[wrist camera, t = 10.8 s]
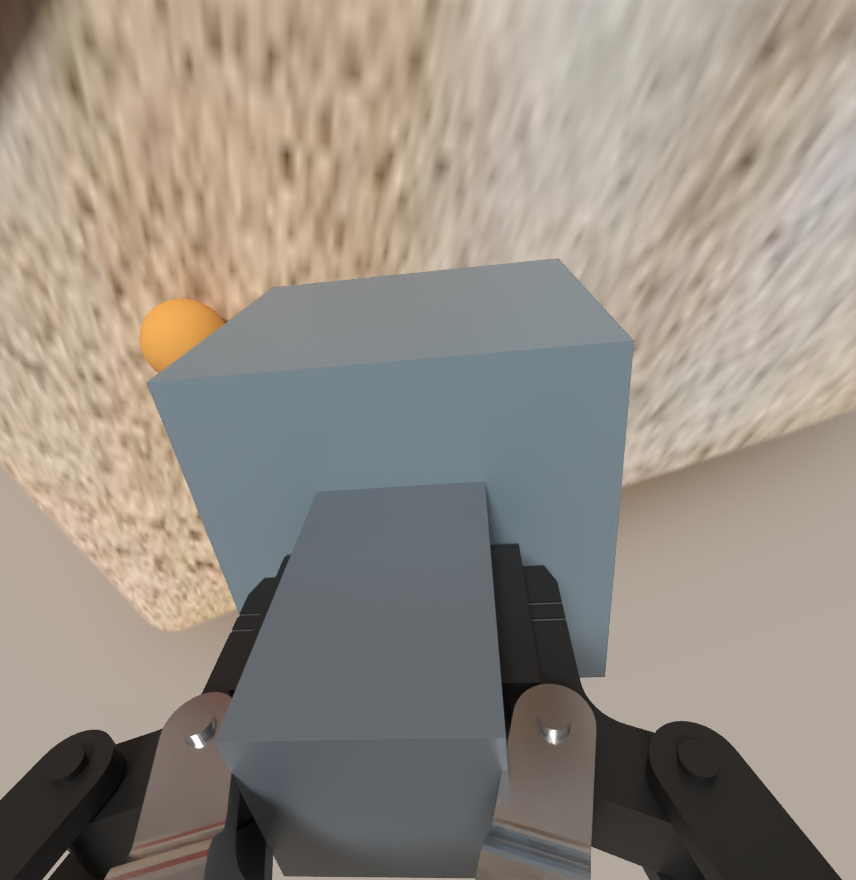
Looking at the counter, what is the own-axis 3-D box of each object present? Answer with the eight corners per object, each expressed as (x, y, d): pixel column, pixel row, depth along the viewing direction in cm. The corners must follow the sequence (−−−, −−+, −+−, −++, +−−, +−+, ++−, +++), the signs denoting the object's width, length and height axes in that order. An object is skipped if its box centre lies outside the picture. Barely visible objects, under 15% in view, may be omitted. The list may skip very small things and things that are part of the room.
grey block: (558, 258, 18) (818, 541, 5) (555, 499, 23) (682, 955, 10) (272, 287, 19) (-126, 587, 6) (328, 512, 24) (177, 943, 11)
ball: (176, 288, 33) (234, 289, 31) (202, 361, 36) (257, 367, 34) (106, 312, 29) (166, 315, 27) (140, 392, 32) (197, 400, 30)
